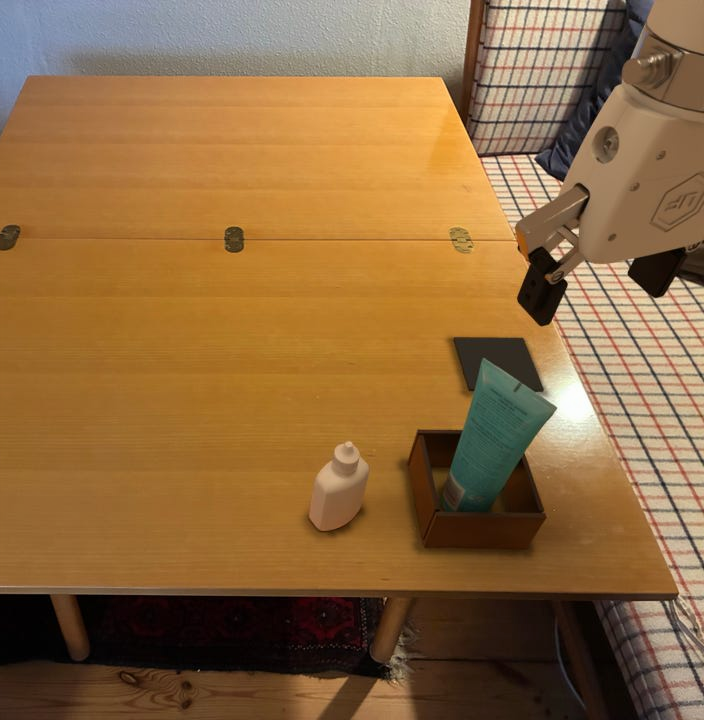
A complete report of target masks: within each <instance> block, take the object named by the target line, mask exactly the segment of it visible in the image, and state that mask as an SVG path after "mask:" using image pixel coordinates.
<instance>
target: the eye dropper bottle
mask: <svg viewBox="0 0 704 720" xmlns="http://www.w3.org/2000/svg"><path fill="white" fill-rule="evenodd" d="M370 471H371V469H370V466H369V464H368V463H367V461H366V460H365V459H364V458H363V457H362V456H361V453H360V450H359V449H358V447H357V446H356V445H354V444H353V442H352V441H349V440H348V441H345V442H344V443H339V444H338V445H336V446H335V448H334V450H333V454H332V459H331V460H330V461H328V462H327V463H326V464H324V465H323V467H322V468H321V469H320V470H319V472H318V473H317V474H316V477H315V479H314V483H313V489H312V495H311V500H310V501H311V502H310V506H309V513H308V517H309V520H310V521H311V522H312V524H313V525H314V526H315V528H317V530H318V531H321V532H327V531H328V532H329V531H333V530H336V529H338V528H341V527H343V526H345V525H347V524H348V523H349V522H351V521H352V520H353V519H354V517H356V515H357V514H358V513H359V512H360V509H361V507H362V504H363V500H364V497H365V493H366V488H367V484H368V479H369V475H370Z"/></svg>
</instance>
